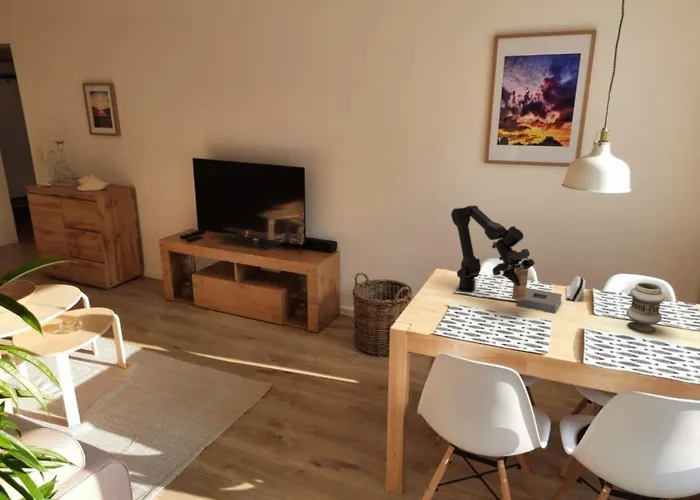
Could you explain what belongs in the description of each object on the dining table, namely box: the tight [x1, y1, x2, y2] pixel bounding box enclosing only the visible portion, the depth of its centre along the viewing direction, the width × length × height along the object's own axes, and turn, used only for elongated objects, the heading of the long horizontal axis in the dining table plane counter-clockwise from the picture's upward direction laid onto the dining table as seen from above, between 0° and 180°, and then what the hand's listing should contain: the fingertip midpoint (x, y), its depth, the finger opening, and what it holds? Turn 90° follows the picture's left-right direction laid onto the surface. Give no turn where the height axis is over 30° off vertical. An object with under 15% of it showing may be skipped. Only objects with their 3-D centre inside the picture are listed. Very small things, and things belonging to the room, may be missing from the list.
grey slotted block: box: [515, 287, 563, 314], centre depth 225 cm, size 16×16×4 cm
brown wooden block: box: [511, 268, 529, 302], centre depth 210 cm, size 4×4×13 cm
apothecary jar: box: [626, 281, 666, 334], centre depth 199 cm, size 12×12×18 cm
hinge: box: [564, 275, 587, 303], centre depth 235 cm, size 17×5×10 cm, turn 158°
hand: (522, 285), depth 208 cm, fingers closed on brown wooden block, 3 cm apart
